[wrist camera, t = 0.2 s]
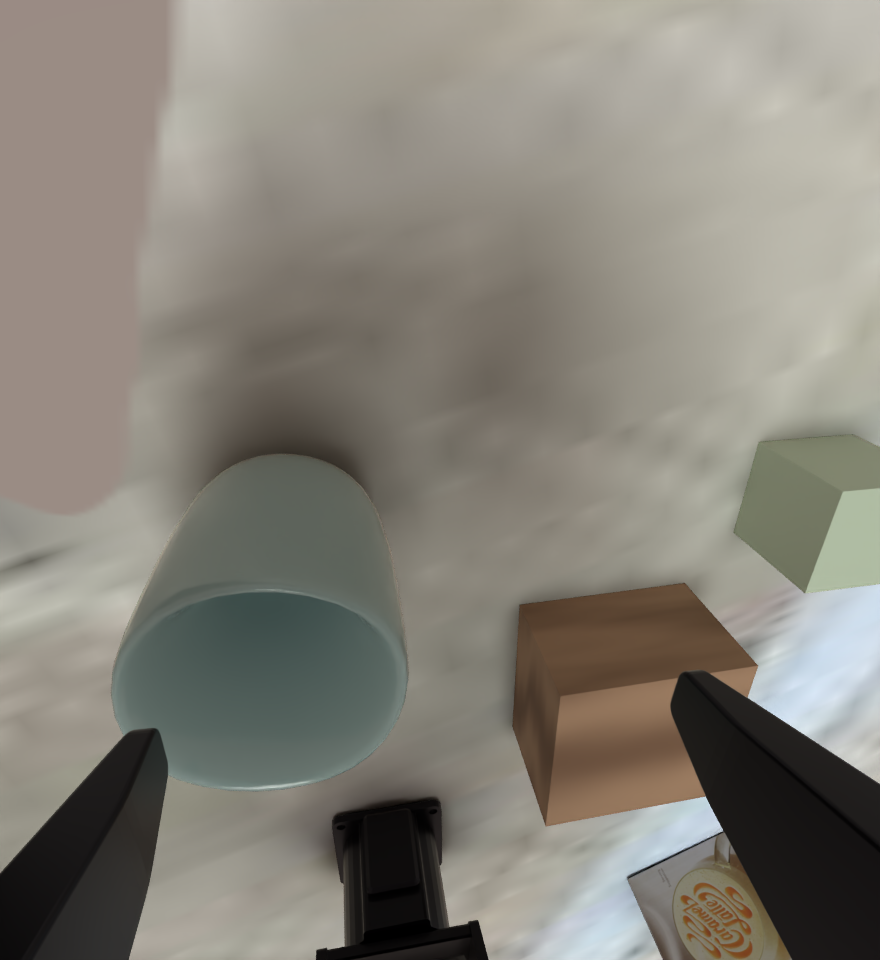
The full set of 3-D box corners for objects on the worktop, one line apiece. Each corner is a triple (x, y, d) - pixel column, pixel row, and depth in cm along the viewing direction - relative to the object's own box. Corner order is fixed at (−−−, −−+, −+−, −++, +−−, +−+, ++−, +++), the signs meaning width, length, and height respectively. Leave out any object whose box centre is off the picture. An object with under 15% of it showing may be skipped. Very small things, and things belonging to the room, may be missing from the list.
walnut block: (655, 700, 34) (715, 794, 29) (511, 723, 33) (545, 826, 27) (682, 581, 30) (758, 665, 24) (518, 602, 28) (560, 696, 23)
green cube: (819, 522, 29) (904, 580, 25) (732, 531, 29) (804, 593, 24) (851, 433, 27) (952, 480, 23) (757, 441, 26) (842, 491, 22)
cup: (398, 439, 23) (438, 593, 14) (368, 591, 26) (385, 792, 17) (194, 412, 21) (97, 570, 12) (189, 579, 24) (109, 798, 16)
